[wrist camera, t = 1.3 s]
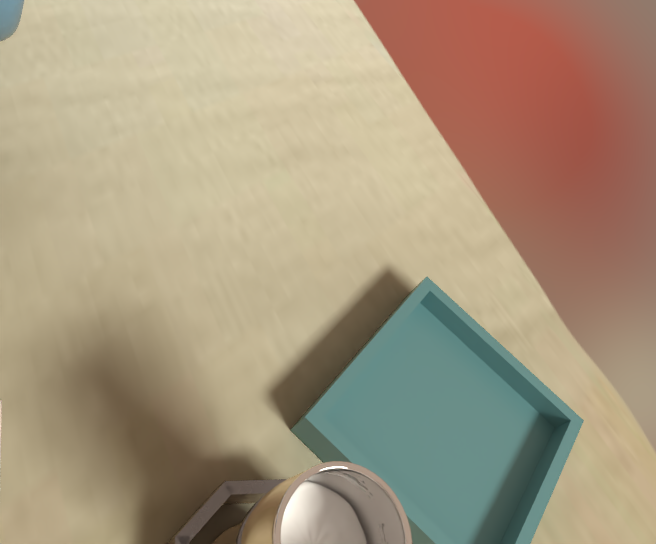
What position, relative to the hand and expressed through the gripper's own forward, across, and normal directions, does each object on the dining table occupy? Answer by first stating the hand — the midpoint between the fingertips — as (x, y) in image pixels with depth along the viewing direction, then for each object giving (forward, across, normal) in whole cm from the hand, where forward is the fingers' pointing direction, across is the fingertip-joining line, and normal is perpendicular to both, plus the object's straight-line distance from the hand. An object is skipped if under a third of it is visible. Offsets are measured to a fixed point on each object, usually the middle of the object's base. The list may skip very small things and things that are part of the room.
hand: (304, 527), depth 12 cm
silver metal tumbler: (+18, -1, -23) cm, 29 cm away
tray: (+31, +11, -18) cm, 38 cm away
